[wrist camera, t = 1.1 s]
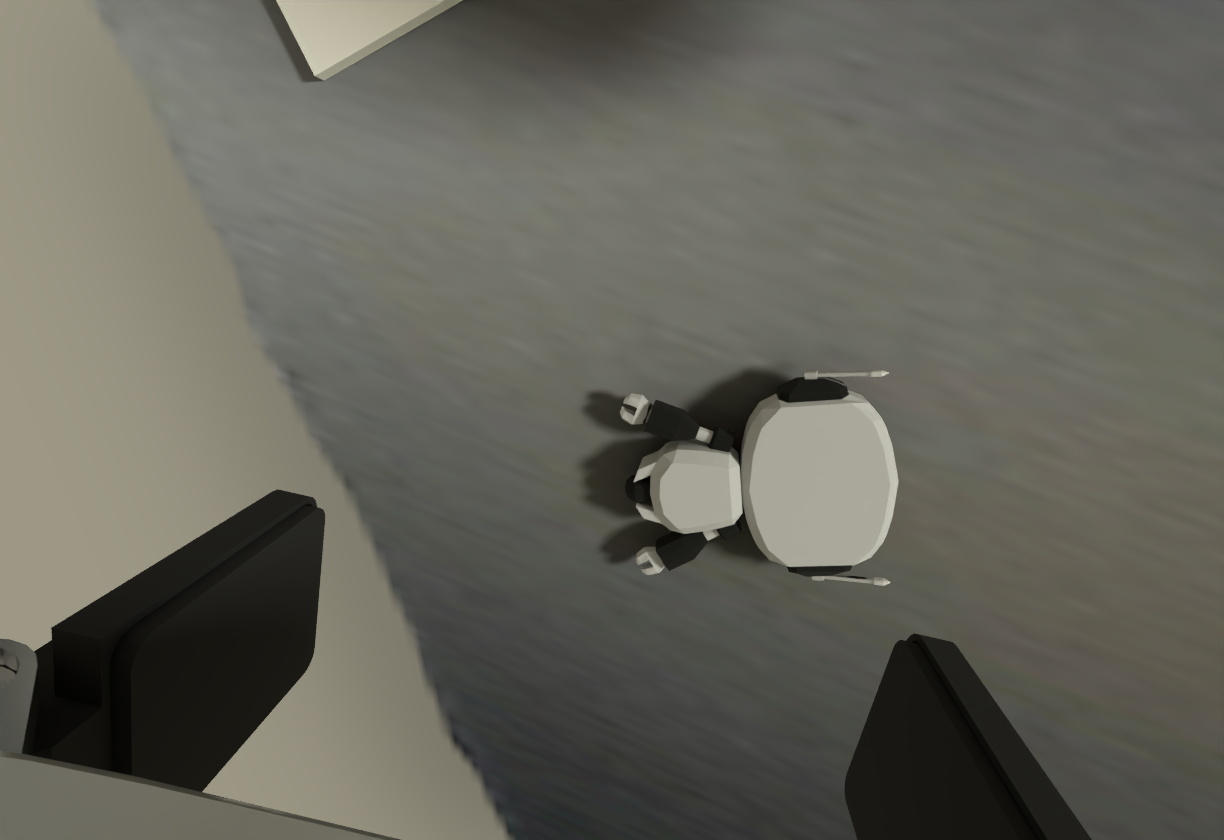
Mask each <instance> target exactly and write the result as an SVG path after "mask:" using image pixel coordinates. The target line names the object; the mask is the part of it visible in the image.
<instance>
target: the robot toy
mask: <svg viewBox="0 0 1224 840" xmlns="http://www.w3.org/2000/svg"><path fill="white" fill-rule="evenodd" d="M886 374H889V373H888V372H886V371H883V370H872V371H858V372H821V373H818V371H805V373H804V377H800V378H795V379H793V380H791V381H788V382H786V383H784V384H782V385H780V386H778V389H777V393H776V394H774V395H772V396H770V397H768V398H766V399H764V400H762V401H761V402H759V403H758V405H757V406H756V408H755V409H754V411H753V412H752V414H751V415H750V417H749V419H748V422H747V424H746V427H745V431H744V436H743V440H742V444H741V454H740V464H739V455H738V452H737V451H736V450H735V449H734V448H733V447H732V444H733V442H734V439H735V433H734V432H731V431H728V430H725V429H723V428H720V427H716V428H715V429H714V430H713V431H711V430H708V429H705V428H703V427H700V426H699V425H698V424H697V423H696V422H695V421H694V420H693V419H692V418H691V417H690V416H689V415H688V414H687V413H686V412H685V411H684V410H683V409H680V408H677V407H674V406H672V405H669V404H666V403H664V402H661V401H658V400H656V401H655V403H654V406H653V407H652V405H651V403H650V402H649V401H648V400H647V399H646V398H645V397H644V396H643V395H639V394H629V395H628V396H626V397H625V399H624V402H623V404H628V405H631V406H633V407H636V408H637V410H636V412H635V411H632V410H629V409H627V408H625V407H623V406H622V408H621V411H620V415H621V417H622V419H623V420H625V421H626V422H628V423H629V424H631V425H635V424H645V423H647V424H646V427H645V430H644V431H647V432H649V433H652V434H655V435H657V436H660V437H663V438H665V439H668V440H671V442H668V443H666V444H665V445H664V446H663V447H662V448H661V449H660V450H659V451H656V452H654V453H652V454H649V455H647V456H645V457H643V459H642V461H641V463H640V466H639V468H638V471H637V473H636V474H635V475H632V476H630V477H629V478H628V480H627V481H626V484H625V490H626V494H627V496H628V497H629V498H630V499H631V500H633V501H637V504H636V508H637V509H638V511H639V512H640V514H641V515H642V517H643V518H644V519H647V520H651V521H654V522H657V523H661V524H663V525H664V526H666V527H667V528H668V529H669V530H672V531H673V532H671V533H669V534H667V535H665V536H662V537H660V538H658V540H657V541H656V547H644V548H643V549H641V550H640V551H639V552H638V553H637V554H636V562H637V564H638V565H640V564H641V563H644V562H646V561H648V560H650V563H648V564H646V565H643V566H642V568H641V570H642V572H643V573H645V574H646V575H651V574H656V573H660V572H661V570H662V569H663V568H664V567H665V566H666V567H667V569H668V570H669V571H670V570H672V569H674V568H676V567H678V566H680V565H683V564H685V563H687V562H689V561H691V560H693V559H695V557H696V556H697V555H698V554H699V552H700V551H701V550H702V549H703V547H704V546H705V544H706V543H707V541H708V540H711V539H713V538H715V537H717V536H719V535H720V536H721V537H722V538H723V539H725V540H726V539H728V538H730V537H732V536H734V535H736V534H739V533H741V531H742V529H741V525H740V523H739V521H738V518H739V517H740V516H741V514H742V513H743V512H742V503H743V507H744V512H745V516H746V520H747V523H748V526H749V529H750V531H751V534H752V536H753V539H754V541H755V543H756V544H757V546H758V548H759V549H760V550H761V551H762V552H763V553H764V554H765V556H766V557H767V558H768V559H769V560H771V561H774V562H776V563H779V564H782V565H785V566H787V568H788V570H789V572H792V573H796V574H800V575H803V576H807V577H808V576H812V580H819V581H823V580H824V579H833V580H843V581H853V582H863V583H873V584H874V585H881V586H884V585H886V584H889V583H891V582H889V581H888V580H886V579H884V578H879V577H874V578H867V577H857V576H847V575H837V574H839V573H842V572H846V571H850V570H851V567H852V565H856V564H858V563H860V562H862V561H865V560H867V559H869V558H871V557H872V556H873V555H874V553H875V552H876V551H877V550H878V548H879V547H880V546H881V545H882V543H883V541H884V539H885V537H886V535H887V532H888V529H889V526H890V523H891V520H892V516H893V511H894V505H895V499H896V493H897V487H898V482H899V481H898V475H897V470H896V464H895V459H894V453H893V447H892V443H891V440H890V437H889V434H888V431H887V428H886V426H885V424H884V422H883V420H882V418H881V416H880V415H879V414H878V413H877V412H876V410H875V409H874V408H873V407H872V406H871V404H870V403H869V402H868V401H867V400H866V399H865V398H864V397H863V396H862V395H860V394H857V393H855V392H852V391H849V390H847V387H846V386H845V384H844V383H843V382H842V381H839V380H836V379H833V378H830V377H844V376H871V377H882V376H884V375H886Z"/></svg>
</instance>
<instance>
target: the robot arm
mask: <svg viewBox="0 0 1224 840" xmlns="http://www.w3.org/2000/svg"><path fill="white" fill-rule="evenodd" d="M324 525H325V513H324V510H323V509H321V508H317V505H316V501H315V499H314V498H313V497H309V496H304V495H300V494H296V493H291V492H287V491H282V490H275V491H273V492H271V493H269V494H268V495H266V496H265V497H263V498H261V499H260V500H258V501H256V502H255V503H253V504H252V505H250V506H248V507H247V508H245V509H243V510H242V511H240V512H239V513H237V514H236V515H234V516H232V517H230V518H229V519H227V520H226V521H224V522H223V523H221V524H219V525H218V526H216V527H214V528H213V529H211V530H209V531H208V532H206V533H205V534H203V535H201V536H200V537H198V538H196V539H195V540H193V541H192V542H190V543H188V544H187V545H185V546H184V547H182V548H180V549H179V550H177V551H175V552H174V553H172V554H170V555H169V556H167V557H166V558H164V559H162V560H161V561H159V562H157V563H156V564H154V565H153V566H151V567H149V568H148V569H146V570H144V571H143V572H141V573H140V574H138V575H136V576H135V577H133V578H132V579H130V580H128V581H127V582H125V583H123V584H122V585H121V586H119V587H117V588H115V589H114V590H112V591H110V592H109V593H107V594H106V595H104V596H102V597H101V598H99V599H98V600H96V601H94V602H93V603H91V604H89V605H88V606H86V607H85V608H83V609H81V610H80V611H78V612H76V613H75V614H73V615H72V616H70V617H68V618H67V619H65V620H64V621H62V622H60V623H59V624H57V625H55V626H54V627H52V640H51V641H50V642H48V643H47V644H45V645H44V646H42V647H40V648H39V649H37V650H36V651H32V650H31V649H30V648H29V647H28V646H27V645H25V644H22V643H19V642H16V641H13V640H9V639H0V840H400V839H396V838H391V837H387V836H383V835H379V834H375V833H371V832H367V831H363V830H358V829H354V828H350V827H346V826H342V825H337V824H333V823H329V822H325V821H321V820H316V819H312V818H308V817H303V816H300V815H296V814H291V813H287V812H283V811H279V810H274V809H270V808H266V807H262V806H258V805H253V804H249V803H245V802H241V801H237V800H233V799H228V798H224V797H220V796H216V795H211V794H207V793H203V792H202V791H203V790H204V789H205V788H206V787H207V785H208V784H209V783H210V782H211V781H212V780H213V778H214V777H215V776H216V775H217V774H218V772H219V771H220V770H221V769H222V768H223V767H224V766H225V764H226V763H227V762H228V761H229V760H230V759H231V758H232V756H233V755H234V754H235V753H236V752H237V751H238V749H239V748H240V747H241V746H242V745H243V744H244V743H245V741H246V740H247V739H248V738H249V737H250V736H251V734H252V733H253V732H254V731H255V730H256V729H257V727H258V726H259V725H260V724H261V723H262V722H263V721H264V719H265V718H266V717H267V716H268V715H269V714H270V712H271V711H272V710H273V709H274V707H276V705H277V704H278V703H279V702H280V701H281V700H282V698H283V697H284V696H285V695H286V694H287V693H288V692H289V690H290V689H291V688H292V687H293V686H294V685H295V683H296V682H297V681H298V680H299V679H300V678H301V676H302V675H303V674H304V673H305V671H306V670H307V668H308V666H309V664H310V662H311V660H312V657H313V654H314V648H315V636H316V624H317V612H318V599H319V587H320V575H321V563H322V550H323V538H324ZM845 799H846V803H847V806H848V810H849V813H850V816H851V820H852V823H853V826H854V829H855V833H856V836H857V839H858V840H1092V839H1091V838H1090V837H1089V835H1088V834H1087V832H1086V831H1085V829H1084V828H1083V827H1082V825H1081V824H1080V822H1079V821H1078V819H1077V818H1076V817H1075V815H1074V814H1073V812H1072V811H1071V809H1070V808H1069V807H1068V805H1067V804H1066V802H1065V801H1064V799H1063V798H1062V796H1061V795H1060V794H1059V792H1058V791H1057V789H1056V788H1055V786H1054V785H1053V784H1052V782H1051V781H1050V779H1049V778H1048V776H1047V775H1046V774H1045V772H1044V771H1043V769H1042V768H1041V766H1040V765H1039V763H1038V762H1037V761H1036V759H1035V758H1034V756H1033V755H1032V753H1031V752H1030V751H1029V749H1028V748H1027V746H1026V745H1025V743H1024V742H1023V741H1022V739H1021V738H1020V736H1019V735H1018V733H1017V732H1016V730H1015V729H1014V728H1013V726H1012V725H1011V723H1010V722H1009V720H1008V719H1007V718H1006V716H1005V715H1004V713H1003V712H1002V710H1001V709H1000V708H999V706H998V705H997V703H996V702H995V700H994V699H993V698H992V696H991V695H990V693H989V692H988V690H987V689H986V687H985V686H984V685H983V683H982V682H981V680H980V679H979V677H978V676H977V675H976V673H975V672H974V670H973V669H972V667H971V666H970V665H969V663H968V662H967V660H966V659H965V657H964V656H963V654H962V653H961V652H960V650H959V649H958V647H957V646H956V645H955V644H954V643H953V642H950V641H945V640H941V639H937V638H932V637H928V636H923V635H919V634H913V635H911V636H910V637H909V638H908V639H907V641H904V640H900V641H898V642H897V643H896V644H895V646H894V648H893V651H892V653H891V656H890V659H889V661H888V664H887V667H886V669H885V672H884V675H883V678H882V680H881V683H880V686H879V688H878V691H877V694H876V696H875V699H874V702H873V705H872V707H871V710H870V713H869V715H868V718H867V721H866V723H865V726H864V729H863V731H862V734H861V737H860V740H859V742H858V745H857V748H856V750H855V753H854V756H853V758H852V761H851V764H850V767H849V769H848V772H847V775H846V780H845Z"/></svg>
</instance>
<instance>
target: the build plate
mask: <svg viewBox="0 0 1224 840" xmlns="http://www.w3.org/2000/svg"><path fill="white" fill-rule="evenodd" d="M276 1H277V3H278V5H279V7H280V9H281V11H282V13H283V15H284V17H285V19H286V21H287V23H288V25H289V27H290V29H291V31H292V32H293V34H294V36H295V38H296V40H297V42H298V44H299V46H300V48H301V50H302V52H303V54H304V56H305V58H306V60H307V62H308V64H309V66H310V68H311V70H312V72H313V74H314V76H316V77H318V78H320V79H322V80H324V81H325V80H326V79H328V78H330V77H331V76H333V75H335V74H337V73H338V72H340V71H342V70H344V69H345V68H347V67H349V66H351V65H352V64H354V63H356V62H357V61H359V60H361V59H363V58H364V57H366V56H368V55H370V54H371V53H373V52H375V51H376V50H378V49H380V48H382V47H383V46H385V45H387V44H389V43H390V42H392V41H394V40H395V39H397V38H399V37H401V36H402V35H404V34H406V33H408V32H409V31H411V30H413V29H414V28H416V27H418V26H420V25H421V24H423V23H425V22H427V21H428V20H430V19H432V18H434V17H435V16H437V15H439V14H440V13H442V12H444V11H446V10H447V9H449V8H451V7H453V6H454V5H456V4H458V3H459V2H461V1H463V0H276Z"/></svg>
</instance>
